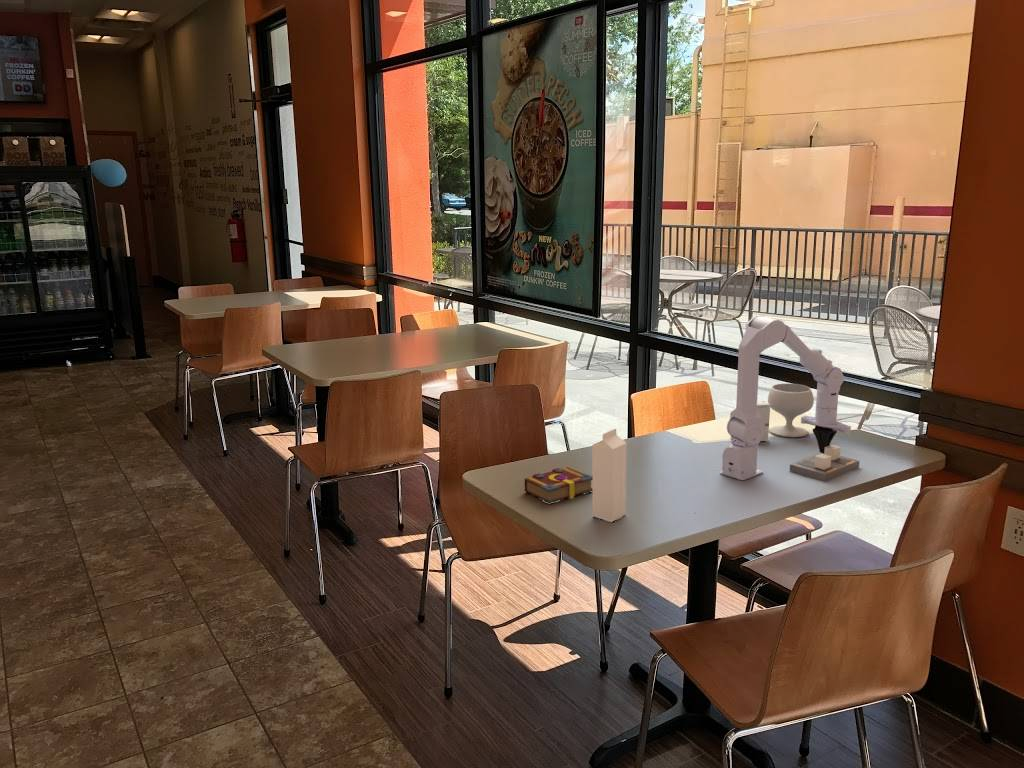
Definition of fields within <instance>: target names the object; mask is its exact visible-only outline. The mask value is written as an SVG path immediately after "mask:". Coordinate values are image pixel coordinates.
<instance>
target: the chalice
mask: <svg viewBox="0 0 1024 768" xmlns="http://www.w3.org/2000/svg"><path fill="white" fill-rule="evenodd" d="M814 399H815V397H814V394H813V390H812V389H811V387H809V386H808V385H804V384H799V383H778V384H774V385H772V387H771V388H770V390H769V393H768V396H767V403H769V404H770V409H772V410H773V411H775V412H777V413H778V414H780V415H782V417H783V418H784V419H785V421H786V423H785V425H776V426H773V427H771V428H770V427H769V432H770V433H771V434H773V435H776V436H777V437H778V436H779V437H784V438H785V437H786V438H801V437H806V436H808V435H809V434H810V432H809V431H808V430H807V429H805V428H802V427H799V426H795V425H793V422H794V420H795V419H796V418H797V417H798V416H800V415H803V414H805V413H807V412H809V411H810V410H811V409H813V406H814V403H815V401H814Z"/></svg>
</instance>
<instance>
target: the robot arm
mask: <svg viewBox="0 0 1024 768" xmlns="http://www.w3.org/2000/svg"><path fill="white" fill-rule="evenodd" d="M779 343H783V344H784V345H785V346H786V347H787V348H789V350H791V351H792V352H793V353H794V354H796V355H797V356H798V357H799V363H800V365H801V366H802V367H804V368H805V369H806V370H807V371H808V372H809V373H810V374H811V375H812V377H813V380H814V381H816V382H817V386H816V400H815V401H816V402H815V412H814V413H815V416H808V415H803V416H801V418H800V424H803V425H805V424H807V425H809V426H814V428H812V433H813V435H814V436H815V439H816V442H817V446H818V450H819V453H824V451H825V447H827V446H829V445H831V442H832V441H833V439H834V437H835V435H836V433H838V432H841V433H843V434H846V435H849V434H851V433H852V430H851V429H852V426H851V425H848V424H845V423H842V422H841V421H840V422H839V421H838V420H837V419H838V403H839V392H840V390H841V385H842V384H844V381H845V376H844V374H843V371H842V369H841V368H840V367H838V366H834V365H833V361H832V360H831V359H827V358H826V357H825V356H824V355H823V354H822V353H823V351H822V349H820V348H815V347H810V348H809V346H807V345H806V344H805V343H804V342H803V340H802V339H800V337H799V336H798V335H797V334H796V333H795V332H794V331H793V330H792V329H791V327H790V326H789V325H788V324H785V322H783V321H782V320H780V319H773V318H770V317H766V316H764V315H762V314H761V315H756V316H753V317H752V318H751V319H749V321H748V322H746V323H745V332H744V333H743V336H742V338H741V341H740V342H739V345H738V356H737V357H738V362H737V385H736V387H737V388H736V405H735V409H734V410H732V411H730V414H729V420H728V421H727V424H726V431H727V433H728V434H729V436H730V443H729V445H728V446H727V447H726V448H724V450H723V452H722V468H721V471H719V474H721V475H724V476H728V477H730V478H733V479H737V480H740V481H745V480H747V479H750V478H753V477H756V476H758V475H762V474H763V473H764V471H763V470H760V469H758V468H757V466H758V447H759V445H760V444H759V443H761V442H760V441H761V440H762V438H763V435H764V431H763V428H762V426H761V418H760V416H759V414H758V412H757V402H758V393H759V392H758V391H759V373H760V369H759V368H760V354H761V353H763V352H764V351H765V350H767V349H769V348H771V347H773V346H775V345H777V344H779Z"/></svg>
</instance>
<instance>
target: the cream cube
mask: <svg viewBox="0 0 1024 768" xmlns="http://www.w3.org/2000/svg"><path fill="white" fill-rule="evenodd" d="M824 454H825V455H828V456H831V460H836V459H838V458H840V456H841V446H837V445H832V444H830V445H829V446H827V447H825V451H824Z"/></svg>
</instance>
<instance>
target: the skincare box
mask: <svg viewBox="0 0 1024 768" xmlns="http://www.w3.org/2000/svg"><path fill="white" fill-rule="evenodd" d="M757 412H758V414H759V416H760V418H761V426H762V428H763V431H764V435H763V438H762V440H761V441H766V442H768V441H769V432H770V431H769V429H770V415H771V407H770V404H769V403H768V401H765V400H764V401H757Z"/></svg>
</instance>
